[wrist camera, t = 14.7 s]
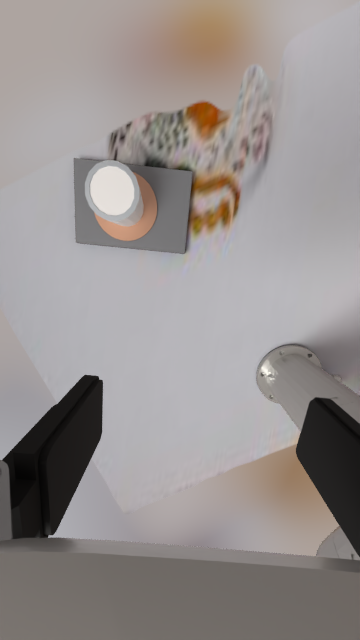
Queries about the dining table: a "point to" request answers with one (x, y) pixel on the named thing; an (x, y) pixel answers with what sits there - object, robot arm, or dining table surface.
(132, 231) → the coaster
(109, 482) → the dining table surface
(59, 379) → the dining table surface
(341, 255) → the dining table surface
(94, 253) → the dining table surface
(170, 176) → the board
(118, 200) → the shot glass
